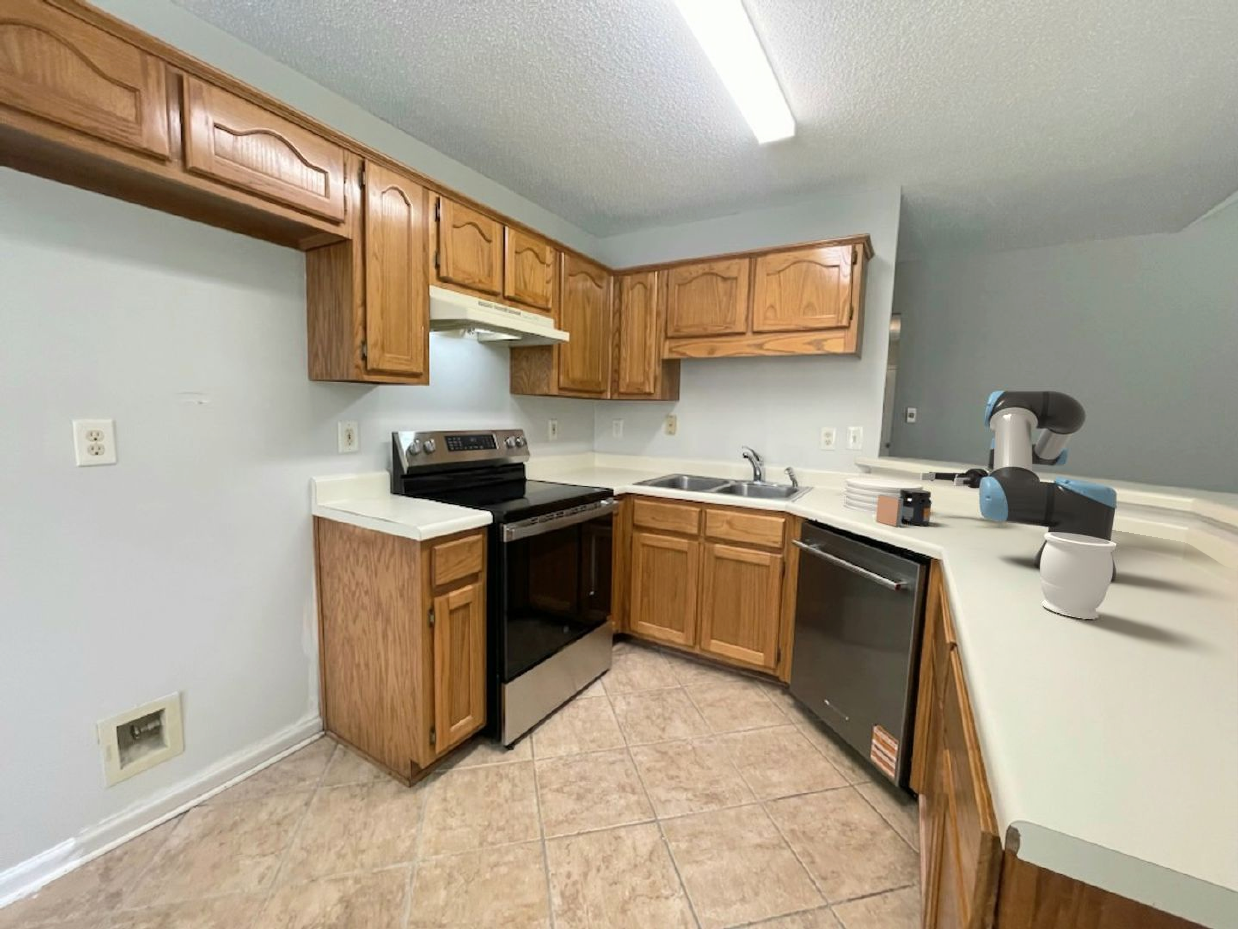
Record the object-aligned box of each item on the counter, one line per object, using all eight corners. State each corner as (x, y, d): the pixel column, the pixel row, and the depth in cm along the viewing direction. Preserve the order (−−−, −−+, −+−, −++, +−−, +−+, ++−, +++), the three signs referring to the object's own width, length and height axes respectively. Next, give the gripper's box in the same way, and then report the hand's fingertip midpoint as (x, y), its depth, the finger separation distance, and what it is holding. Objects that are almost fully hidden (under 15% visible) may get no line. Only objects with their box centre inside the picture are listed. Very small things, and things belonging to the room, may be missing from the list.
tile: (879, 521, 178) (882, 494, 177) (900, 527, 170) (903, 498, 169) (875, 521, 178) (878, 494, 177) (896, 527, 169) (898, 499, 168)
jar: (1113, 628, 90) (1125, 548, 88) (1040, 614, 95) (1050, 539, 94) (1096, 609, 99) (1106, 537, 97) (1030, 597, 104) (1039, 529, 103)
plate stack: (935, 518, 189) (938, 489, 188) (863, 515, 189) (865, 486, 188) (895, 504, 217) (898, 479, 216) (832, 502, 217) (834, 476, 216)
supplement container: (934, 524, 176) (938, 492, 175) (920, 528, 170) (924, 493, 169) (904, 519, 184) (907, 487, 183) (889, 521, 178) (893, 489, 177)
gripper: (1013, 494, 174) (969, 495, 167) (948, 483, 197) (907, 484, 191) (1016, 473, 173) (972, 473, 166) (950, 464, 196) (909, 464, 190)
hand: (937, 479), depth 179 cm, fingers open, 13 cm apart
